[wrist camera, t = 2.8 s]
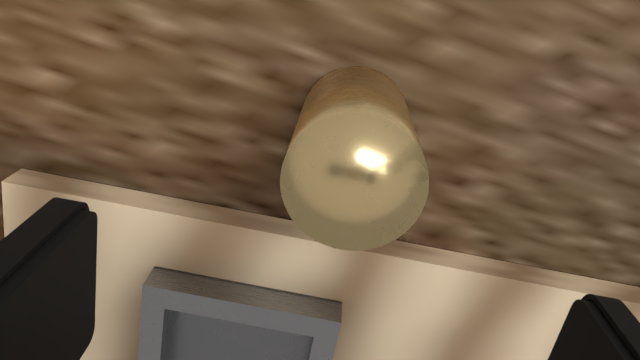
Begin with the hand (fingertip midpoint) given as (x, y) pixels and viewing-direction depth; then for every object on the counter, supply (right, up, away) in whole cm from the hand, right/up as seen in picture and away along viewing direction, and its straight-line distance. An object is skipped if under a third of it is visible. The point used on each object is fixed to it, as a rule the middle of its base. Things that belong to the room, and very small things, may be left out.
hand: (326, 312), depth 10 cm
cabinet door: (0, -6, +17) cm, 18 cm away
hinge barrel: (+1, +5, +12) cm, 13 cm away
